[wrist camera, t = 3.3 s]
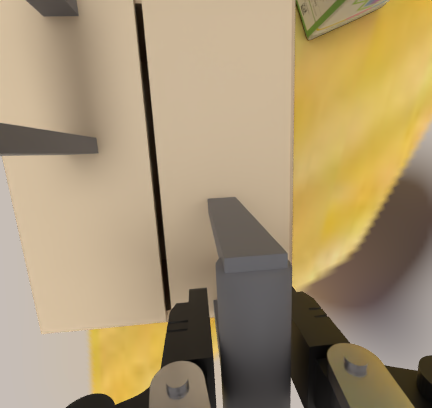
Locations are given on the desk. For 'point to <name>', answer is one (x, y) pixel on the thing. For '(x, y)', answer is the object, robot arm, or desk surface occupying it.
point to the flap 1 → (80, 162)
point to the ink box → (333, 13)
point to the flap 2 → (228, 177)
